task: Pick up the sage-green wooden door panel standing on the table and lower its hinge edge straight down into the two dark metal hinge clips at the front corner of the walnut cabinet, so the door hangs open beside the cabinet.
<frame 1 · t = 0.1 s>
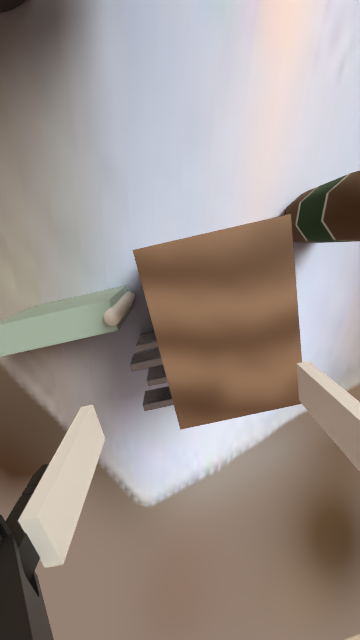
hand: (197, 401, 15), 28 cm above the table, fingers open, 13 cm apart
door: (84, 306, 41), on the table
cabinet: (199, 292, 41), on the table
beer bottle: (304, 219, 39), on the table
hinge clips: (161, 350, 44), on the table
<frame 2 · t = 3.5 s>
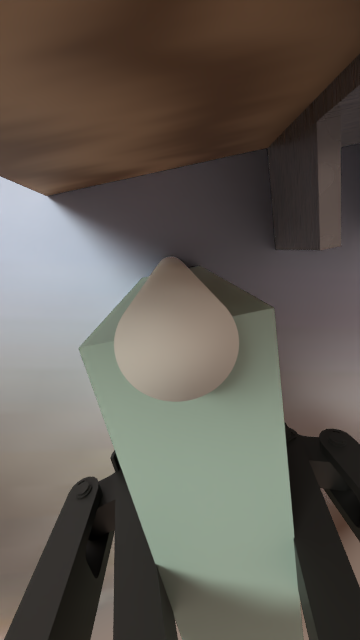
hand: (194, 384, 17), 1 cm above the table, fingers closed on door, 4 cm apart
door: (192, 374, 19), on the table, touching gripper
cabinet: (160, 40, 13), on the table
hinge clips: (330, 189, 15), on the table
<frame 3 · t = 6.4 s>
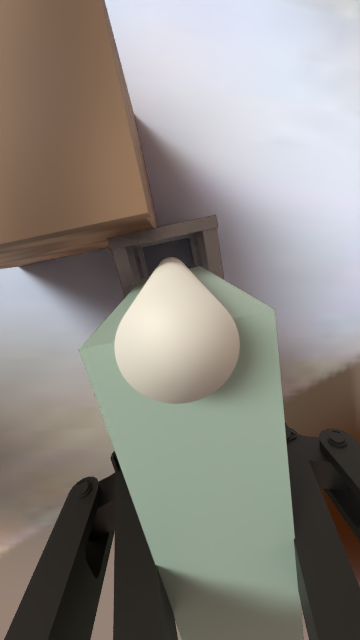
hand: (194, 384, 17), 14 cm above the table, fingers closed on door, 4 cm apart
door: (192, 374, 19), point 13 cm above the table, touching gripper
cabinet: (71, 195, 26), on the table
hinge clips: (169, 261, 29), on the table
when the fingers open (3 cm above the table, at t = 9.3 s): door drops 1 cm, on the table.
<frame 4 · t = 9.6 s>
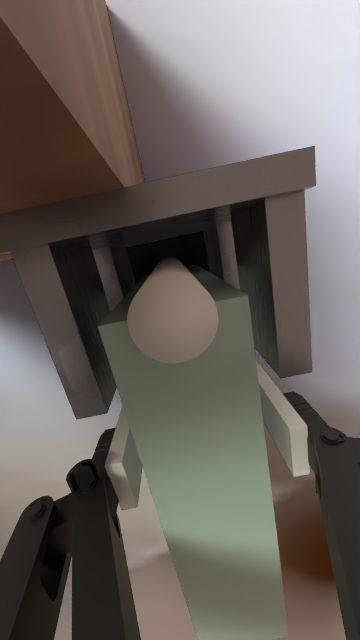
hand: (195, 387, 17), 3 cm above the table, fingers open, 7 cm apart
door: (190, 365, 20), on the table
cabinet: (3, 158, 15), on the table
hinge clips: (170, 269, 18), on the table
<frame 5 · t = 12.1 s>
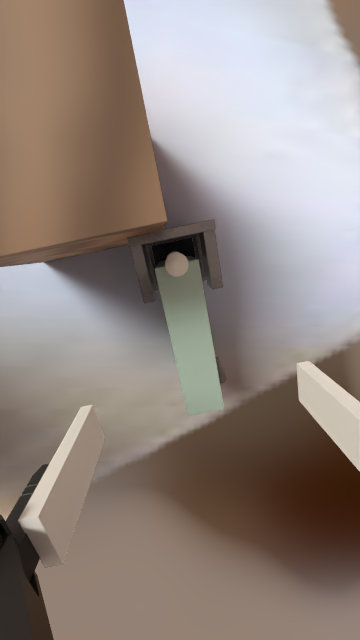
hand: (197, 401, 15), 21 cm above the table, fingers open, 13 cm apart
door: (185, 313, 35), on the table
cabinet: (91, 201, 30), on the table
hinge clips: (174, 258, 33), on the table
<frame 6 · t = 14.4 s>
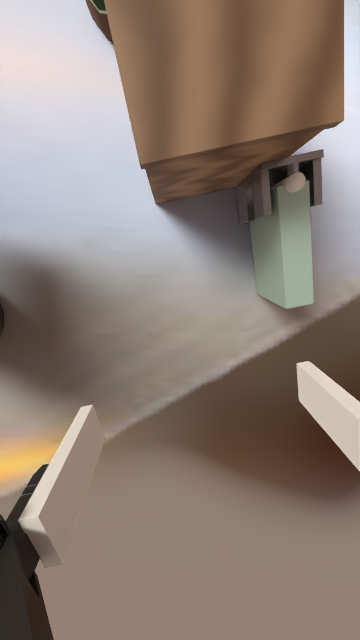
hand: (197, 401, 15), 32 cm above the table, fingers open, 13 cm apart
door: (263, 249, 44), on the table
cabinet: (198, 153, 39), on the table
beer bottle: (118, 11, 34), on the table
hinge clips: (259, 201, 41), on the table
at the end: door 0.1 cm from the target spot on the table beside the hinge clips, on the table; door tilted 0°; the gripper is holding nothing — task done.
